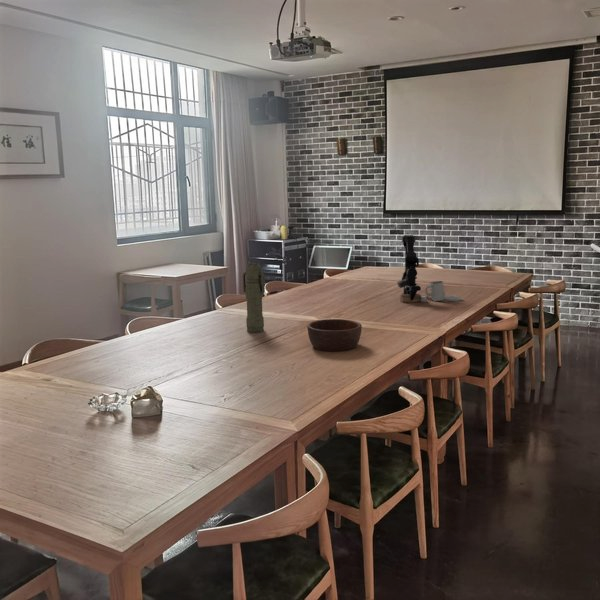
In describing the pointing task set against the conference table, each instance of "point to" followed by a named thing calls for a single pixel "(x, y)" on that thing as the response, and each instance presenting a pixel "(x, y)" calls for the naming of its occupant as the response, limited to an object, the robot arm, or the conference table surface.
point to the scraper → (417, 298)
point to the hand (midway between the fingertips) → (410, 299)
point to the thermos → (254, 297)
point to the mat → (451, 298)
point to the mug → (436, 290)
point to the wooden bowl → (334, 334)
